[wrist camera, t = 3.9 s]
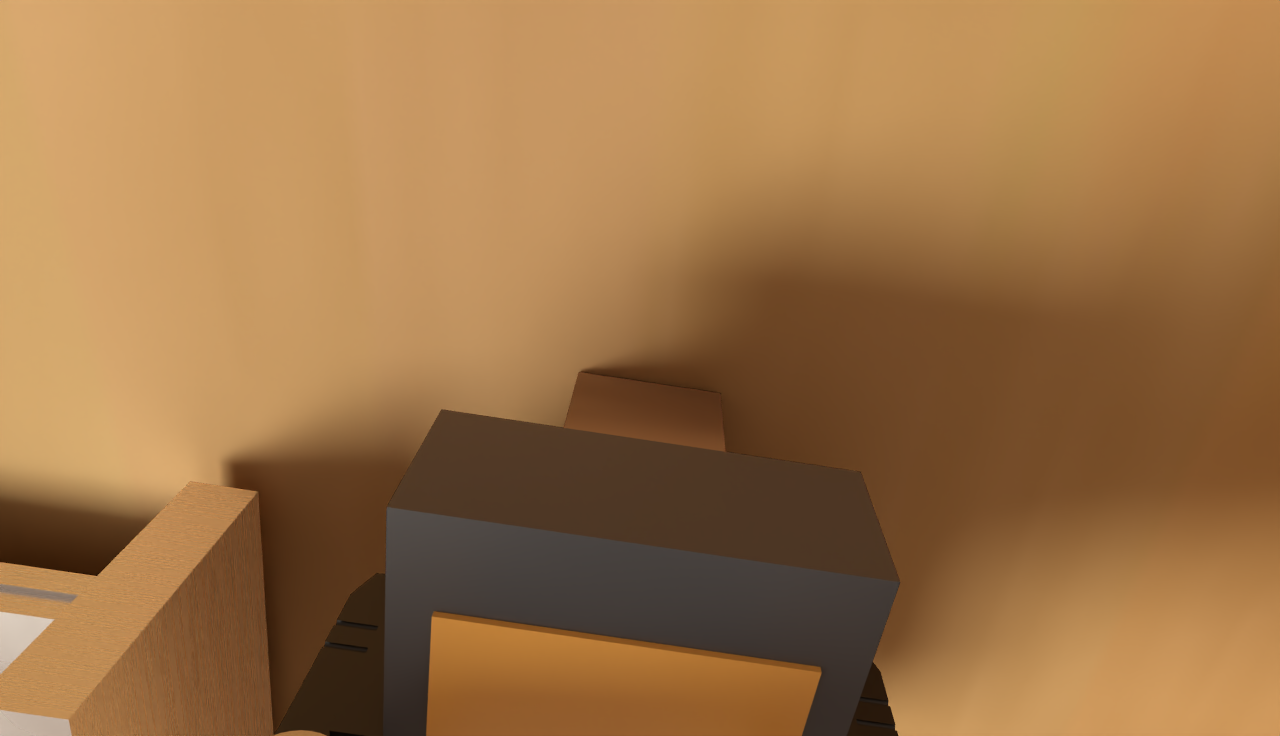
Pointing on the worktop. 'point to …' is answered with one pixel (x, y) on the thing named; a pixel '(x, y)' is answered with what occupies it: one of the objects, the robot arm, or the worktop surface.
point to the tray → (145, 631)
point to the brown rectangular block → (647, 411)
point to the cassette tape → (625, 588)
